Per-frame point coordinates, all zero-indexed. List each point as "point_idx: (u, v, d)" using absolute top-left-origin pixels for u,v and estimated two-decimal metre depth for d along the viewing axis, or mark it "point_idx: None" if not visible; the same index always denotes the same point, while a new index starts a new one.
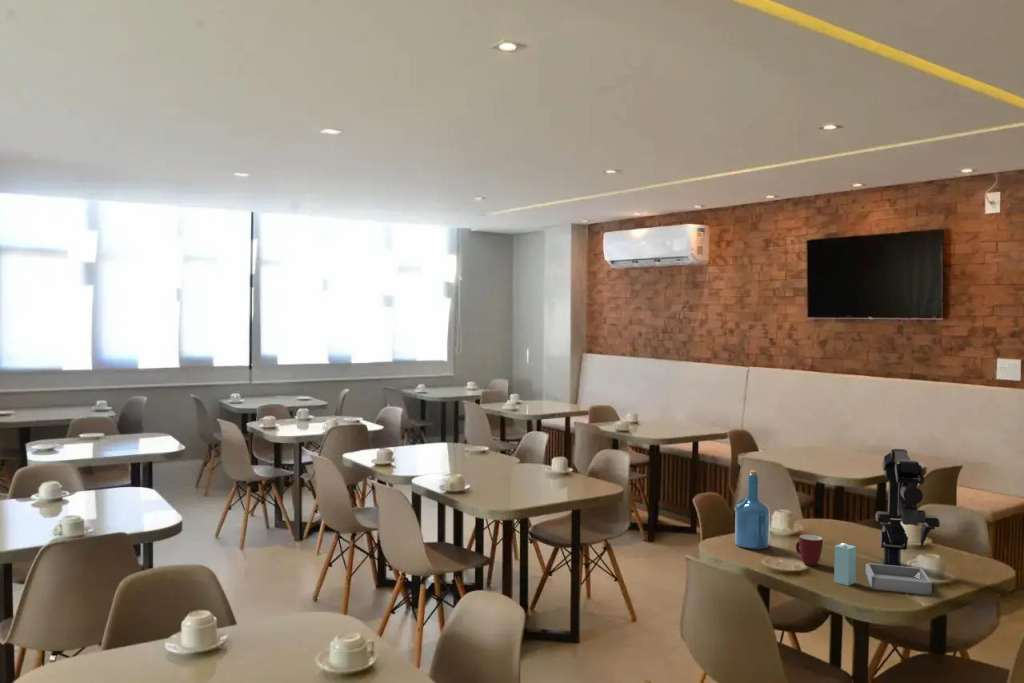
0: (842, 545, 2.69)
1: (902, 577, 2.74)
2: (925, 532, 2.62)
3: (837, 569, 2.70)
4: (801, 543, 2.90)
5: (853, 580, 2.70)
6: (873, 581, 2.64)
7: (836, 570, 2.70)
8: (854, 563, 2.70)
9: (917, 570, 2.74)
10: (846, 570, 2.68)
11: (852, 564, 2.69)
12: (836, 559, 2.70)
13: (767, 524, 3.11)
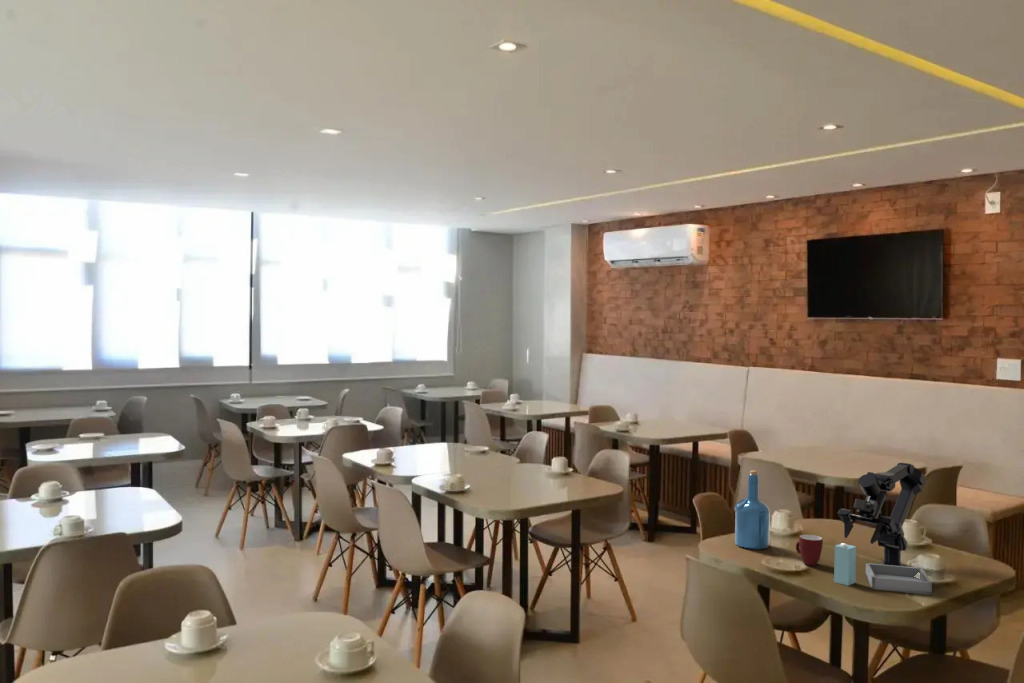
0: (842, 545, 2.69)
1: (902, 577, 2.74)
2: (877, 529, 2.73)
3: (837, 569, 2.70)
4: (801, 543, 2.90)
5: (853, 580, 2.70)
6: (873, 581, 2.64)
7: (836, 570, 2.70)
8: (854, 563, 2.70)
9: (917, 570, 2.74)
10: (846, 570, 2.68)
11: (852, 564, 2.69)
12: (836, 559, 2.70)
13: (767, 524, 3.11)
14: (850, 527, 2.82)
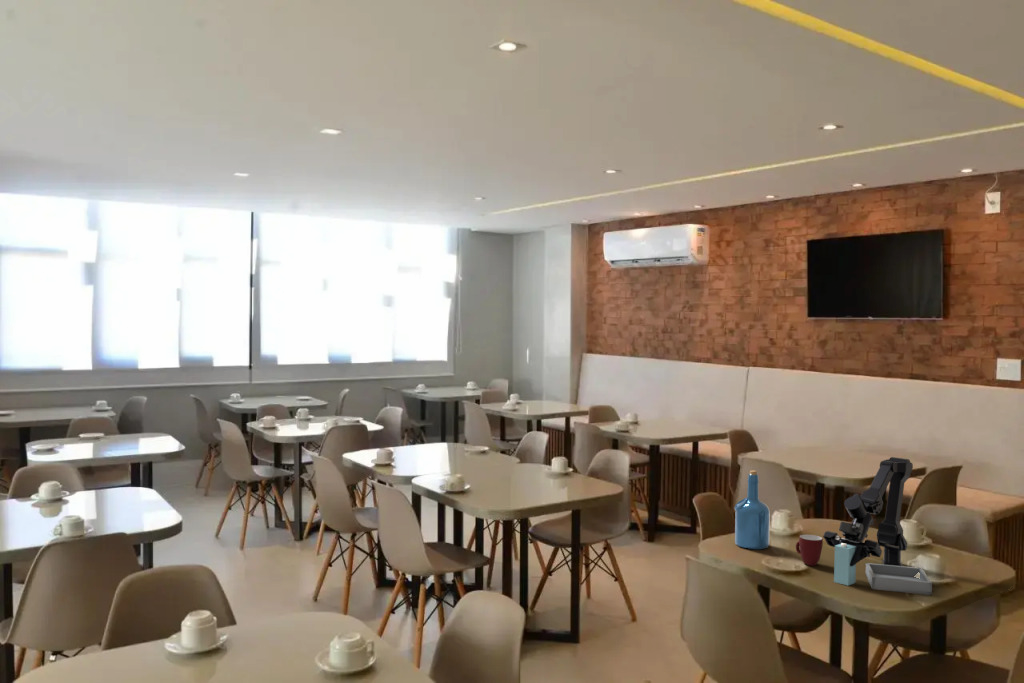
0: (842, 545, 2.69)
1: (902, 577, 2.74)
2: (856, 551, 2.69)
3: (837, 569, 2.70)
4: (801, 543, 2.90)
5: (853, 580, 2.70)
6: (873, 581, 2.64)
7: (836, 570, 2.70)
8: None
9: (917, 570, 2.74)
10: (846, 570, 2.68)
11: None
12: (836, 559, 2.70)
13: (767, 524, 3.11)
14: None
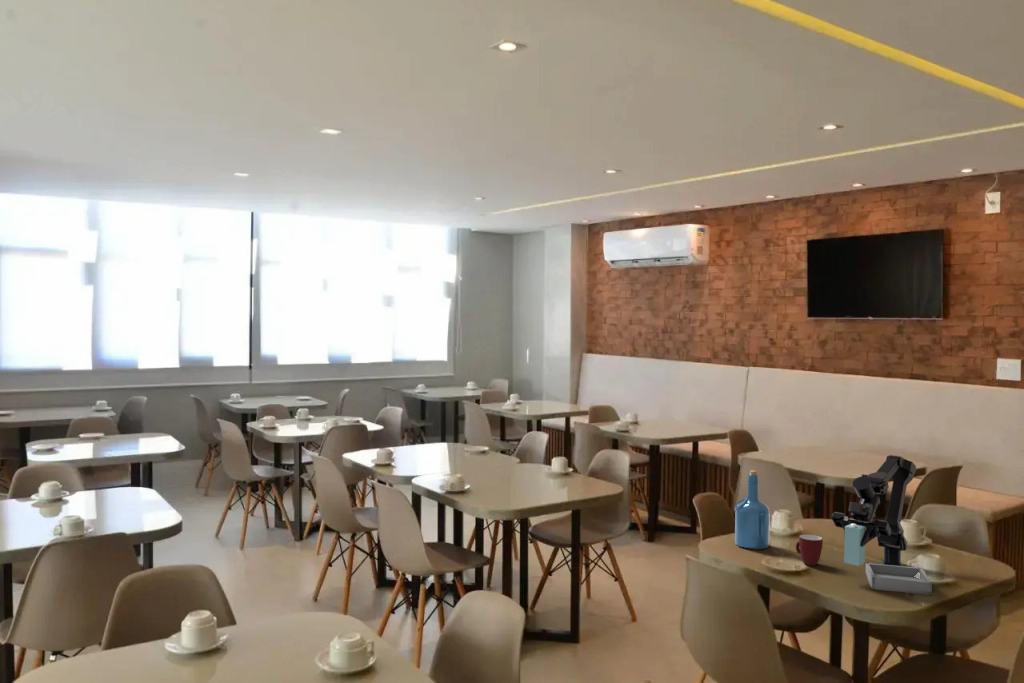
0: (852, 525, 2.68)
1: (902, 577, 2.74)
2: (866, 532, 2.68)
3: (847, 550, 2.69)
4: (801, 543, 2.90)
5: (863, 560, 2.69)
6: (873, 581, 2.64)
7: (846, 551, 2.69)
8: None
9: (917, 570, 2.74)
10: (856, 551, 2.67)
11: None
12: (846, 540, 2.69)
13: (767, 524, 3.11)
14: None
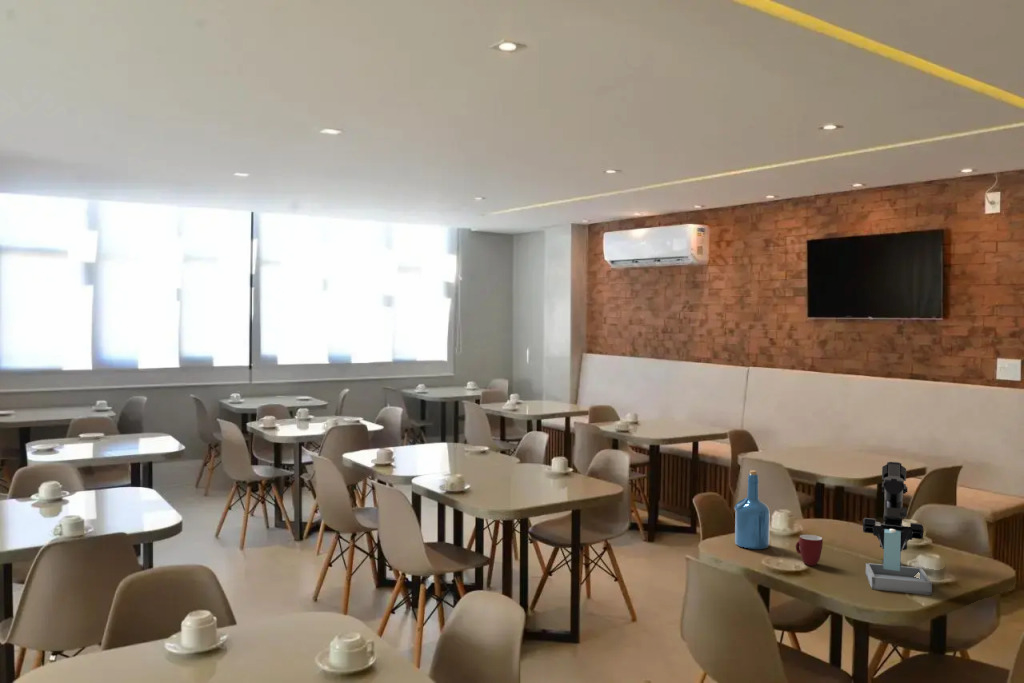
0: (892, 531, 2.67)
1: (902, 577, 2.74)
2: (903, 536, 2.68)
3: (887, 555, 2.67)
4: (801, 543, 2.90)
5: None
6: (873, 581, 2.64)
7: (886, 557, 2.68)
8: None
9: (917, 570, 2.74)
10: (897, 556, 2.66)
11: None
12: (886, 546, 2.67)
13: (767, 524, 3.11)
14: None
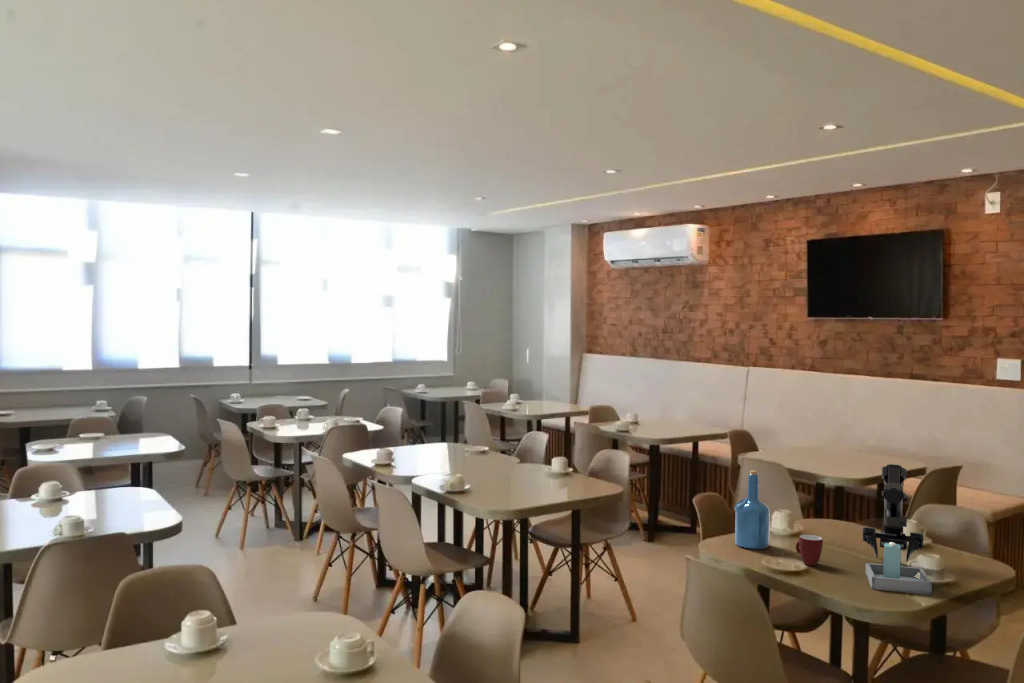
0: (892, 544, 2.67)
1: (902, 577, 2.74)
2: (910, 546, 2.67)
3: (887, 569, 2.67)
4: (801, 543, 2.90)
5: None
6: (873, 581, 2.64)
7: (886, 570, 2.68)
8: None
9: (917, 570, 2.74)
10: (897, 569, 2.66)
11: None
12: (886, 559, 2.67)
13: (767, 524, 3.11)
14: None
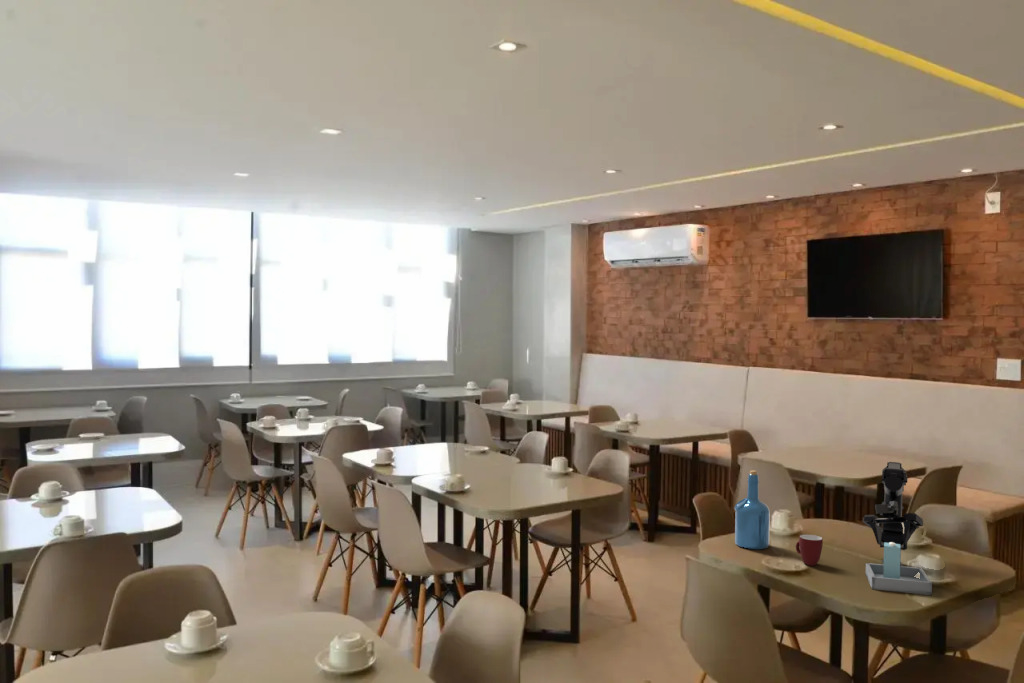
0: (892, 544, 2.67)
1: (902, 577, 2.74)
2: (905, 528, 2.72)
3: (887, 569, 2.67)
4: (801, 543, 2.90)
5: None
6: (873, 581, 2.64)
7: (886, 570, 2.68)
8: None
9: (917, 570, 2.74)
10: (897, 569, 2.66)
11: None
12: (886, 559, 2.68)
13: (767, 524, 3.11)
14: (879, 531, 2.81)
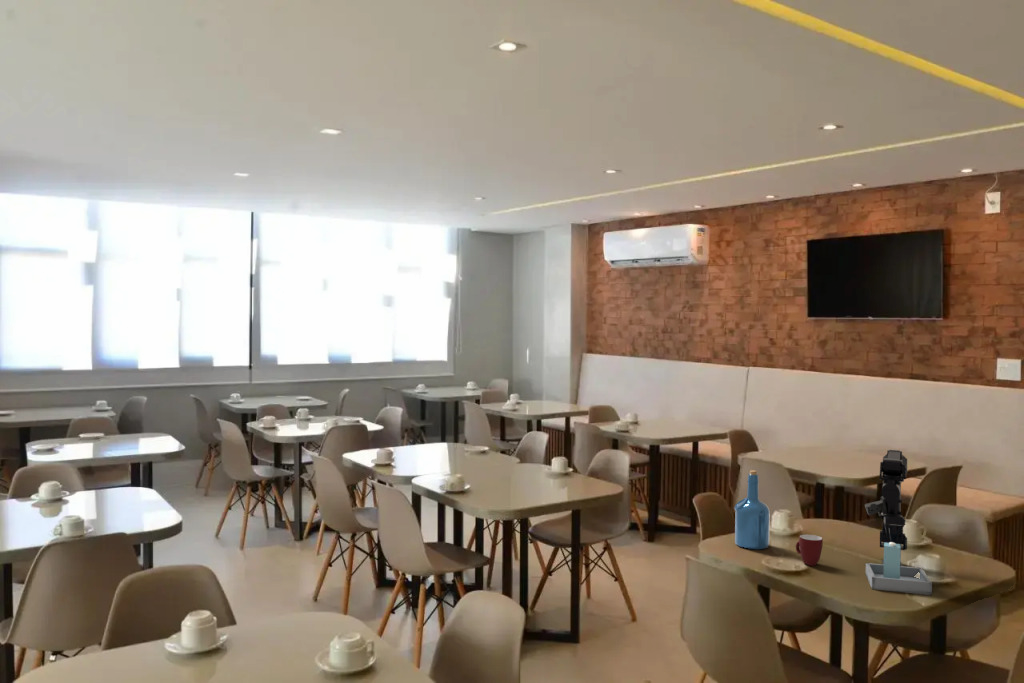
0: (892, 544, 2.67)
1: (902, 577, 2.74)
2: (888, 528, 2.73)
3: (887, 569, 2.67)
4: (801, 543, 2.90)
5: None
6: (873, 581, 2.64)
7: (886, 570, 2.68)
8: None
9: (917, 570, 2.74)
10: (897, 569, 2.66)
11: None
12: (886, 559, 2.68)
13: (767, 524, 3.11)
14: None
